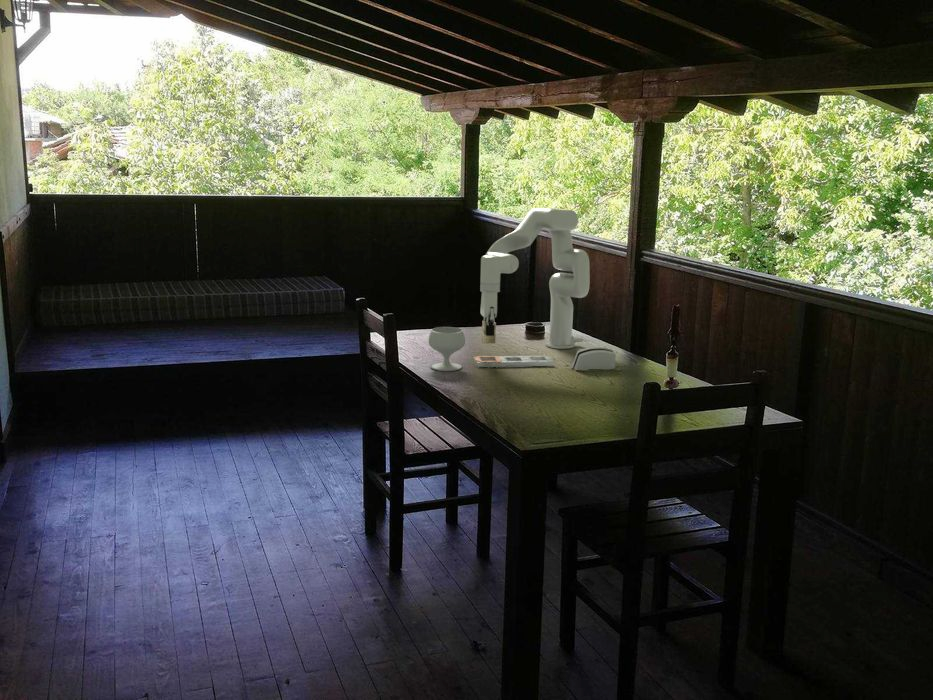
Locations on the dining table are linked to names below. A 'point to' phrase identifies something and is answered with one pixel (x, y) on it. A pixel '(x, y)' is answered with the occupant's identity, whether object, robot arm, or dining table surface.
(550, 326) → the robot arm
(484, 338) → the peg
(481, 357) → the rail
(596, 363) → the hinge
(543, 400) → the dining table surface
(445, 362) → the chalice
